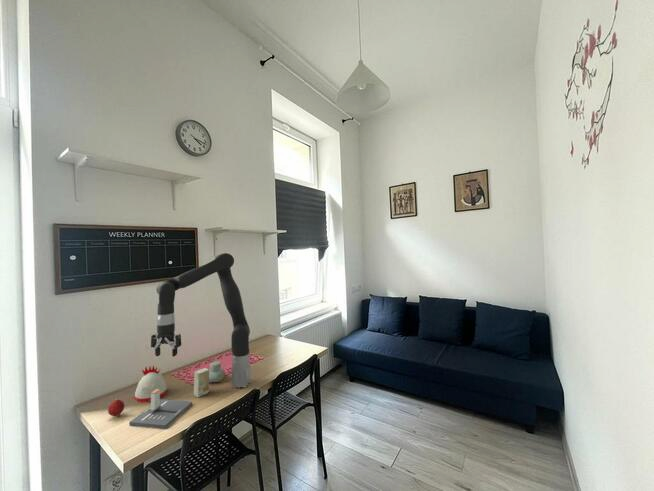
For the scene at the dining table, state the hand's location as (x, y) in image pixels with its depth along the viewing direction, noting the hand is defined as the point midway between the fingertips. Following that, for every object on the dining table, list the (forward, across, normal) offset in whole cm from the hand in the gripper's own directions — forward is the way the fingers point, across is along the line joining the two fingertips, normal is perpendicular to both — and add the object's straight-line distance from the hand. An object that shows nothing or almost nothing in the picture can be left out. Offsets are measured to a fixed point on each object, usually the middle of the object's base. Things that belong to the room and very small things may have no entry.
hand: (166, 355), depth 130 cm
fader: (+22, 0, +7) cm, 23 cm away
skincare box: (+24, -11, -12) cm, 29 cm away
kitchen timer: (+24, +15, -9) cm, 30 cm away
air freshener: (+25, -11, -27) cm, 38 cm away
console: (+24, -3, +7) cm, 25 cm away
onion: (+24, +17, +10) cm, 31 cm away
